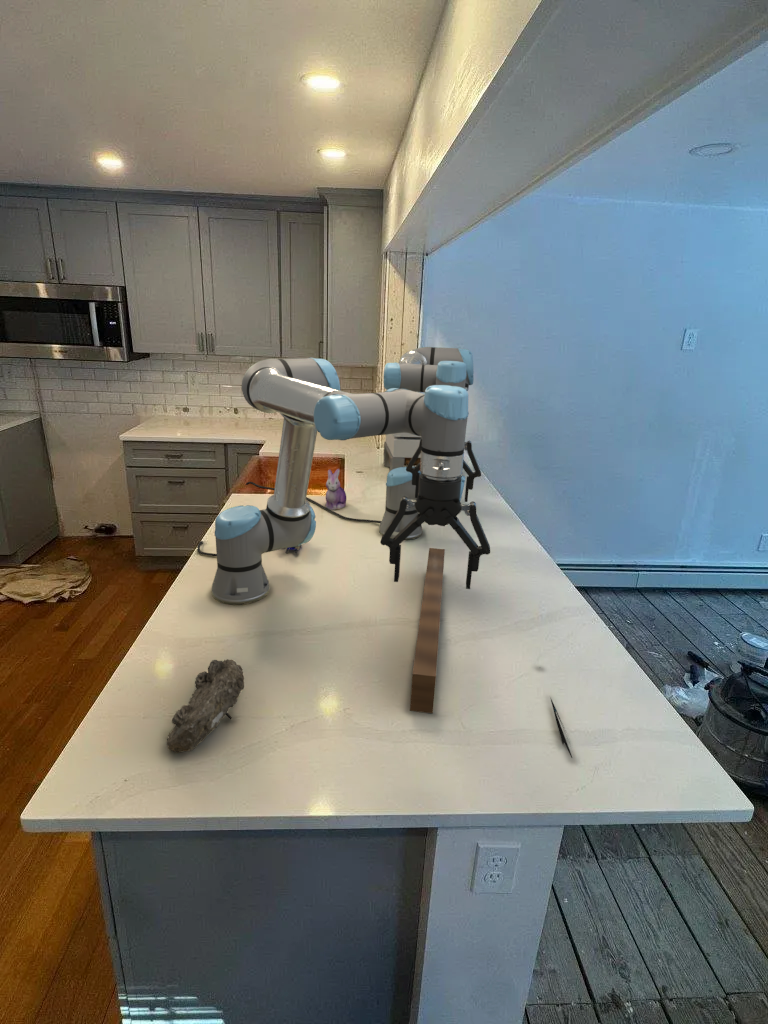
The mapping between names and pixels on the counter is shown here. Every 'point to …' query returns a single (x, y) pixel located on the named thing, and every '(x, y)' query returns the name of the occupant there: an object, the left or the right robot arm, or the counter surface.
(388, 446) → the transformer
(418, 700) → the post
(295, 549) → the figurine character
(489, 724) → the counter surface
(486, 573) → the counter surface
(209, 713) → the fossil
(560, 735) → the feather
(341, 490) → the figurine
